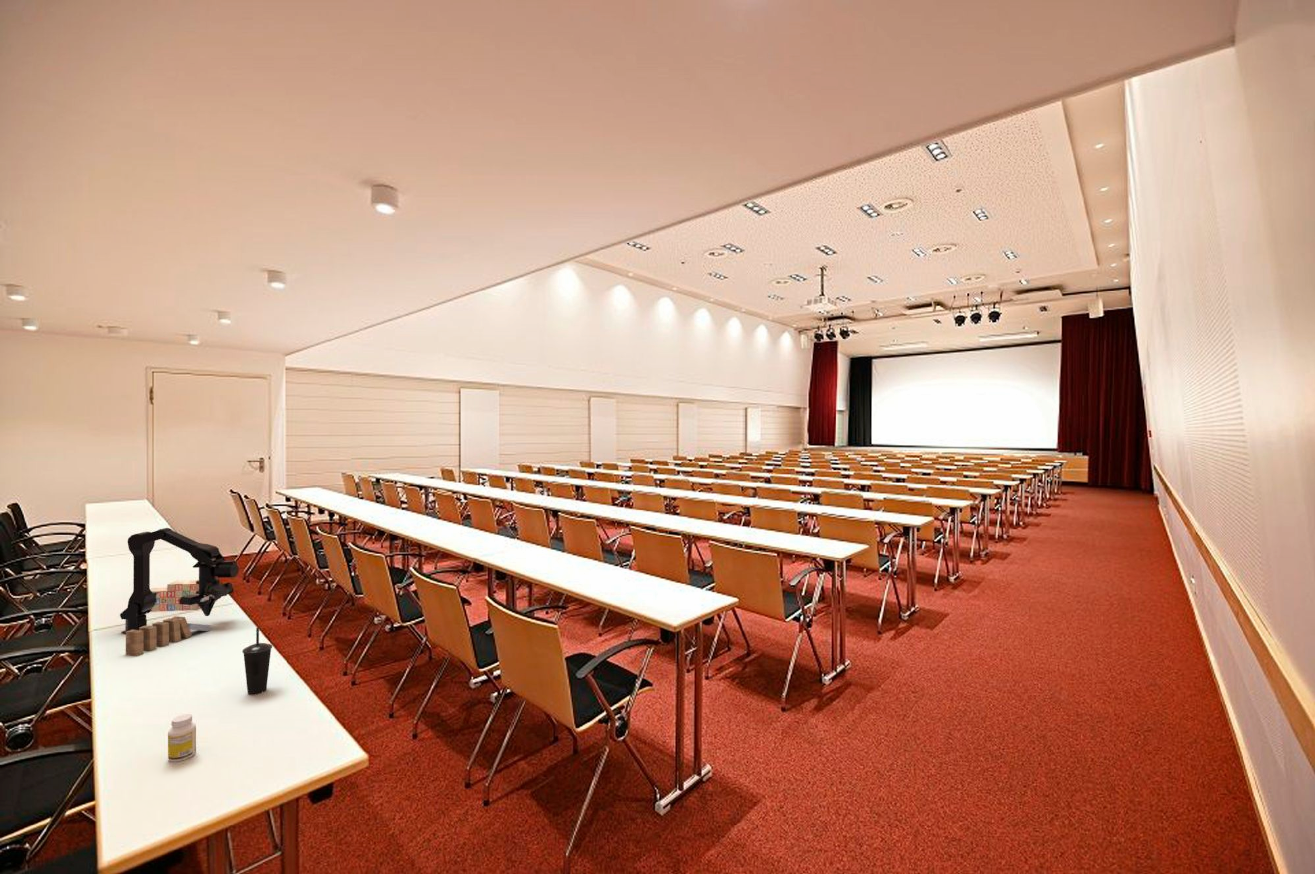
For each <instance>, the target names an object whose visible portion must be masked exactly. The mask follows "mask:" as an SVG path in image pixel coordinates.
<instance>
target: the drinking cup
mask: <svg viewBox="0 0 1315 874" xmlns="http://www.w3.org/2000/svg"><path fill="white" fill-rule="evenodd" d="M255 629H256V630H255V631H256V633H255V635H256V637H255V638H256V640H255V642H256V643H253V644H250V645H249V646H247V647H245V648H243V649H242V654H243V660H244V670H245V682H246V689H247V694H248V695H250V696H256V695H260V694H263V693H265V692H266V691H267V686H268V677H269V671H270V669H269V668H270V662H271V661H270V659H271V652H272V649H273V645H272V644H271V643H265V642H260V627H256V628H255ZM262 692H263V693H262ZM255 694H256V695H255Z"/></svg>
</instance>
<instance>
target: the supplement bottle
mask: <svg viewBox="0 0 1315 874" xmlns="http://www.w3.org/2000/svg"><path fill="white" fill-rule="evenodd" d="M170 725H171V727H170V728H169V729H168V732H167V751H168V752H167V759H168V761H169V762H173V763H176V762H181V761H185V760H187V759H190V758H191V757H193V756H194V755H195V754H196V753H197V726H196V724H195V723H194V722H193V715H192V713H184V714H180V715H177V716H175V717H173V718H172V719H171V724H170Z"/></svg>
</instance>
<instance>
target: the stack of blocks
mask: <svg viewBox="0 0 1315 874" xmlns="http://www.w3.org/2000/svg"><path fill="white" fill-rule="evenodd" d="M196 581H199V579H190V580H175V581H173V582H169V583H167V585H166V587H153V588H150V590H151V591H152V593H154V592H156V593H157V595H156V600H157V602H155V606H154V607H153V608H152V609H151V611H150V612H175V611H179V612H180V611H182V612H184V611H198V610H200V609H201V608H200V607H199V605H198V604H193V605H184V604H179V600H180V598H181V597H183V596H187V595H199V594H196V591H199V584H196ZM204 596H205V595H204Z"/></svg>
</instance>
